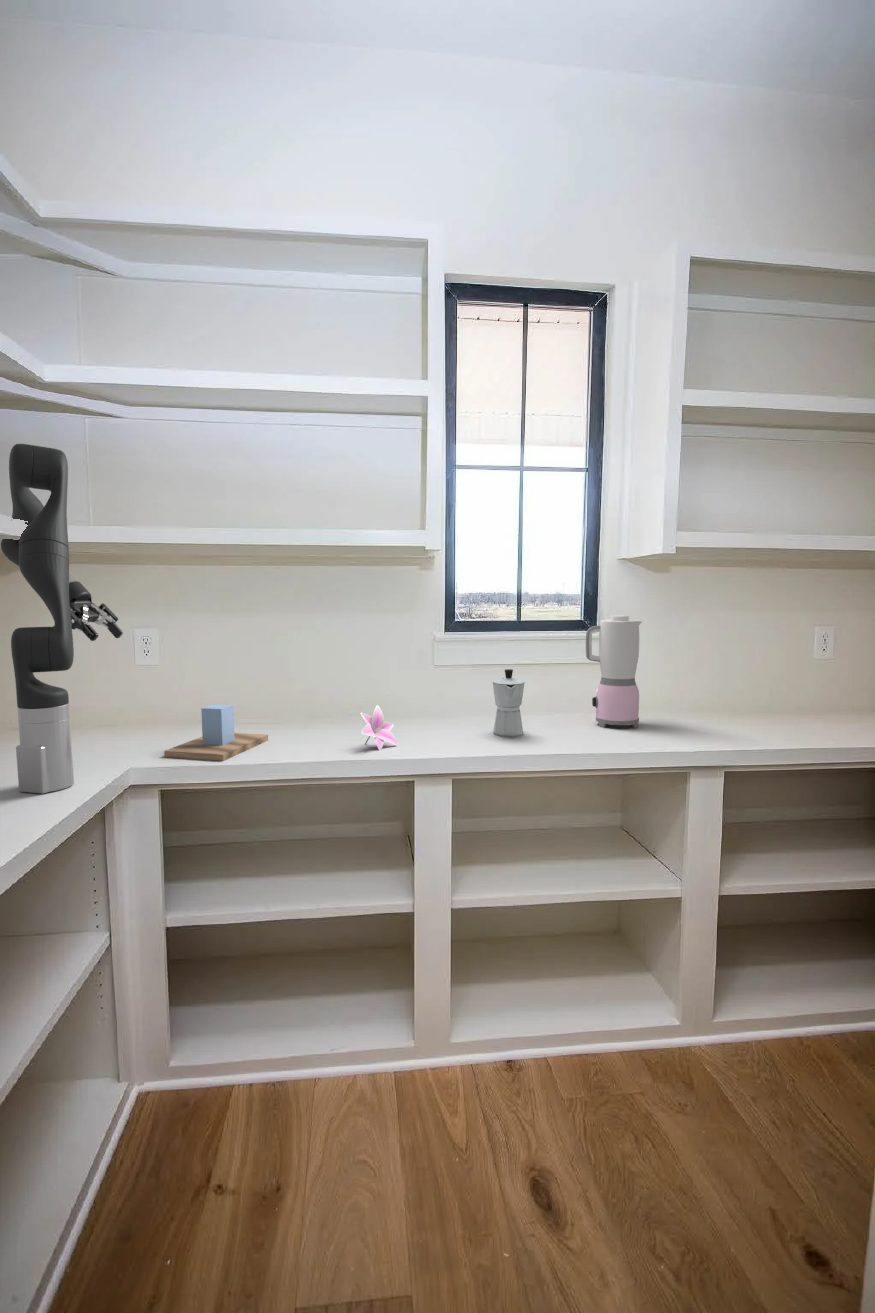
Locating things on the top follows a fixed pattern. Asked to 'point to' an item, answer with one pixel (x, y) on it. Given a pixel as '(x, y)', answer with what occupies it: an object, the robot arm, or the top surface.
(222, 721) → the light blue block
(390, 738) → the lily
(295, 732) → the top surface
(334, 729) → the top surface
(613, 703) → the blender
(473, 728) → the top surface
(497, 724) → the coffee maker
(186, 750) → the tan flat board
